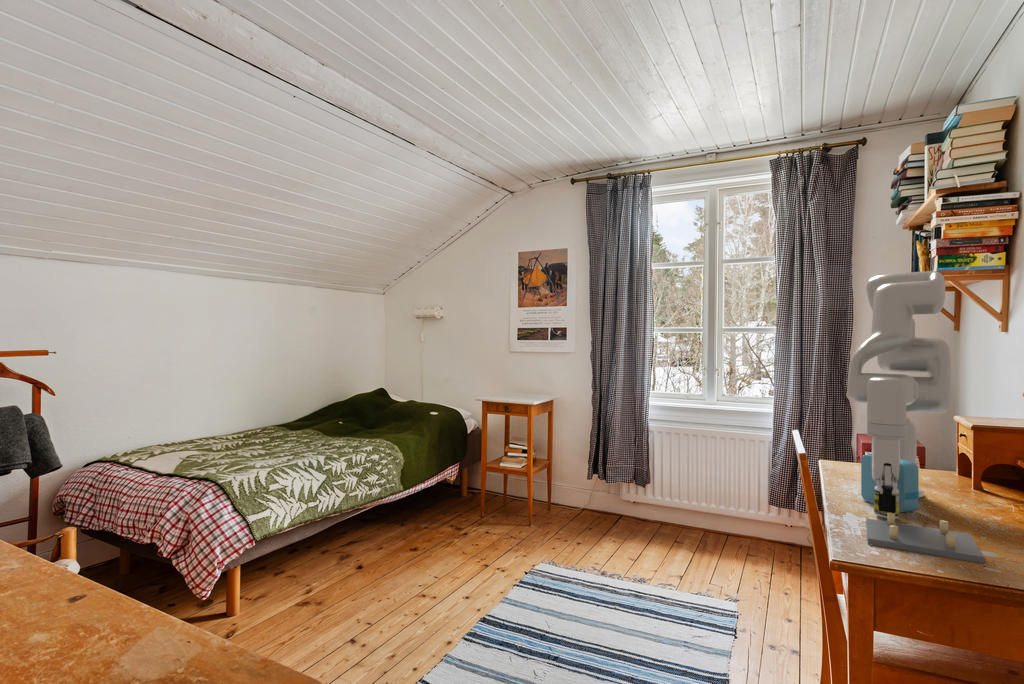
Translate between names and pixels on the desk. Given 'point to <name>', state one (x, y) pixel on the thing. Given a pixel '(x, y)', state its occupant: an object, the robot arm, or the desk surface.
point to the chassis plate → (923, 539)
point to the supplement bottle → (876, 500)
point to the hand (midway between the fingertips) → (886, 507)
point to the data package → (905, 483)
